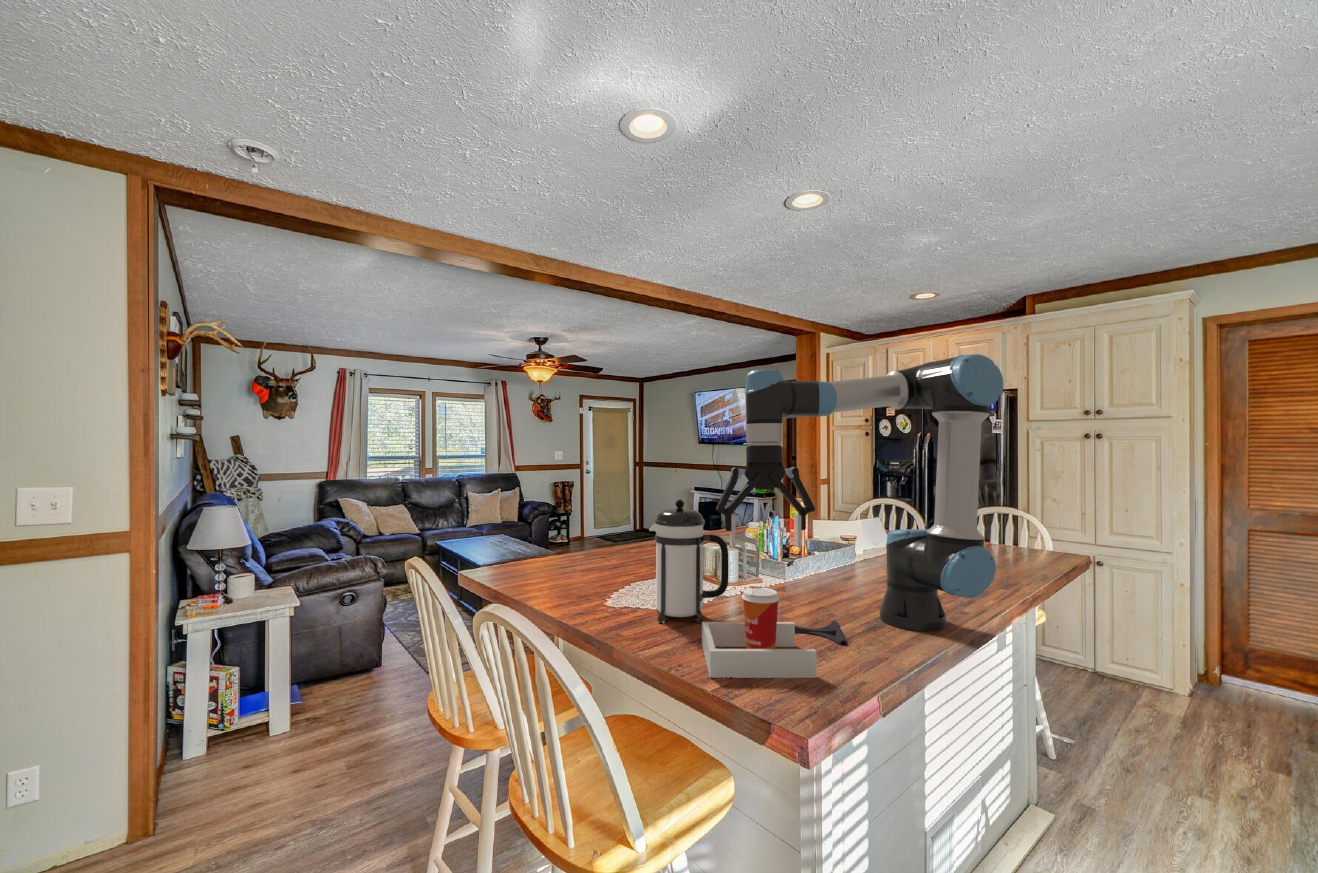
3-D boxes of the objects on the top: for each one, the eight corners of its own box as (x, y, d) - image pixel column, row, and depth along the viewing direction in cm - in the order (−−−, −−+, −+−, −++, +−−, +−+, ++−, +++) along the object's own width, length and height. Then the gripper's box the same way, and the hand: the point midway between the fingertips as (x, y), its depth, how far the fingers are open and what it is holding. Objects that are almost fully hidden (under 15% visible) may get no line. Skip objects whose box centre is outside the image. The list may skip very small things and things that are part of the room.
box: (793, 644, 122) (793, 622, 122) (816, 677, 105) (816, 651, 105) (701, 644, 122) (702, 621, 122) (710, 677, 105) (710, 651, 105)
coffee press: (682, 631, 131) (682, 504, 131) (638, 616, 142) (638, 499, 143) (730, 616, 142) (730, 499, 143) (685, 603, 154) (686, 495, 155)
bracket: (776, 623, 139) (776, 612, 139) (837, 627, 136) (837, 615, 136) (778, 644, 125) (778, 632, 125) (847, 648, 122) (847, 635, 122)
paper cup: (737, 653, 117) (737, 587, 117) (773, 652, 118) (773, 586, 118) (746, 668, 109) (746, 597, 110) (784, 667, 110) (784, 596, 110)
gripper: (818, 443, 120) (819, 542, 119) (702, 444, 119) (703, 543, 119) (829, 444, 112) (830, 549, 112) (706, 445, 112) (707, 550, 111)
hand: (765, 546), depth 115 cm, fingers open, 13 cm apart
